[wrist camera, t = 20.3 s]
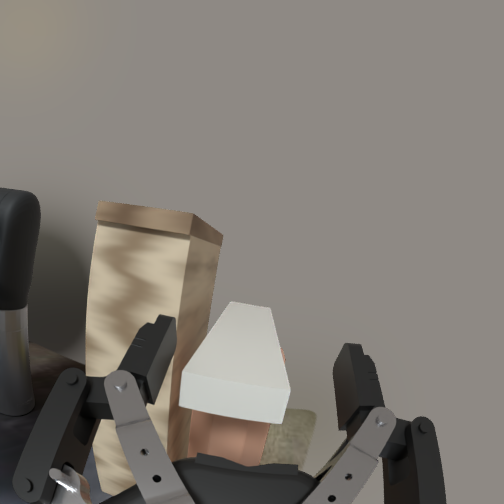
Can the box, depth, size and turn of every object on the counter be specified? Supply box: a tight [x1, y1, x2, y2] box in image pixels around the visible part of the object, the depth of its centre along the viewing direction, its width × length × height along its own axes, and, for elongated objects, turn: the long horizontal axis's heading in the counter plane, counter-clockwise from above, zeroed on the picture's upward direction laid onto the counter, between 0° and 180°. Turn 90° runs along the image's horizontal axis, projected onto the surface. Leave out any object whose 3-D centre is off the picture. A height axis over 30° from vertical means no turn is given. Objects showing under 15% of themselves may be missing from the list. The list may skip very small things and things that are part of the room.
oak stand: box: [86, 201, 223, 496], centre depth 27 cm, size 8×17×32 cm, turn 178°
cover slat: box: [179, 301, 291, 424], centre depth 23 cm, size 5×23×2 cm, turn 178°
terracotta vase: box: [187, 337, 286, 466], centre depth 23 cm, size 7×7×22 cm
